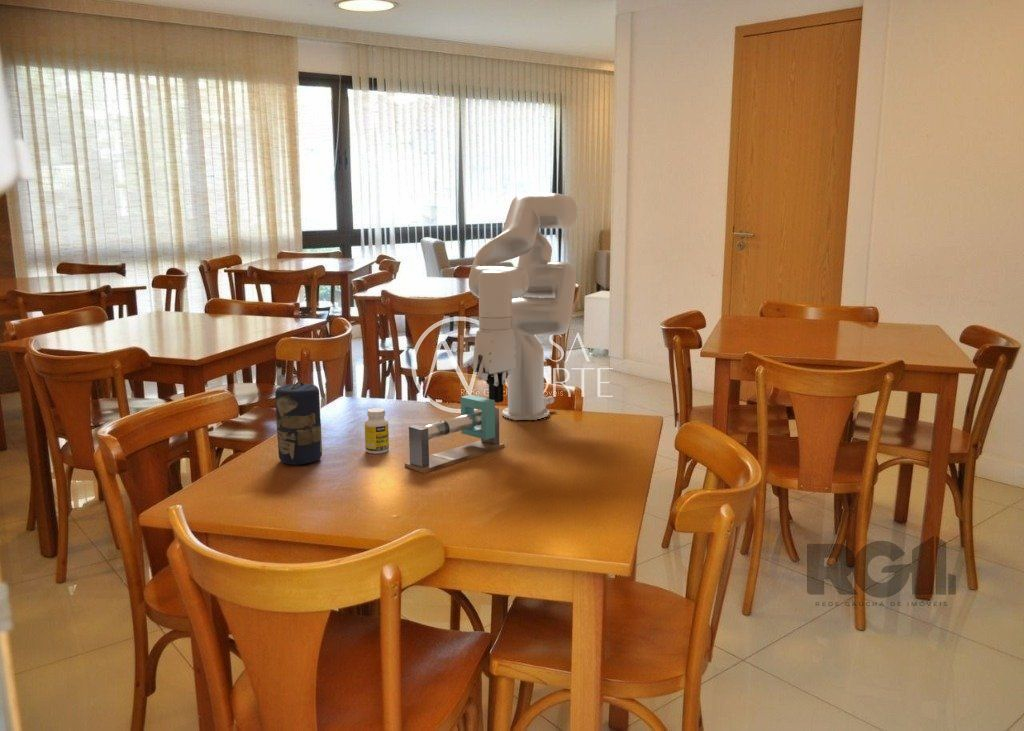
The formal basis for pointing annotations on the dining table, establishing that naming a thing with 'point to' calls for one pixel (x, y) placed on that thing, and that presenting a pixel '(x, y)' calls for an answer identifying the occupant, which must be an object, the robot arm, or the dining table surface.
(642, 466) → the dining table surface
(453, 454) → the base board
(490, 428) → the teal rectangular frame
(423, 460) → the rail
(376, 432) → the supplement bottle
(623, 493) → the dining table surface
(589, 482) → the dining table surface
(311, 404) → the canister
